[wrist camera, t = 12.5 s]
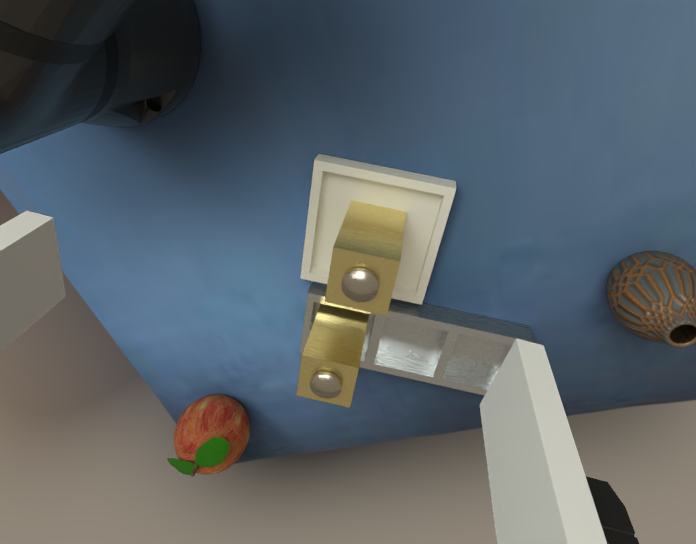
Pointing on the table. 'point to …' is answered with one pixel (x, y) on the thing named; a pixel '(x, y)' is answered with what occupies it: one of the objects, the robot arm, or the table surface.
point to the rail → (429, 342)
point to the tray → (386, 191)
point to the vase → (655, 297)
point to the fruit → (210, 435)
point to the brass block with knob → (332, 355)
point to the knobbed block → (366, 258)
